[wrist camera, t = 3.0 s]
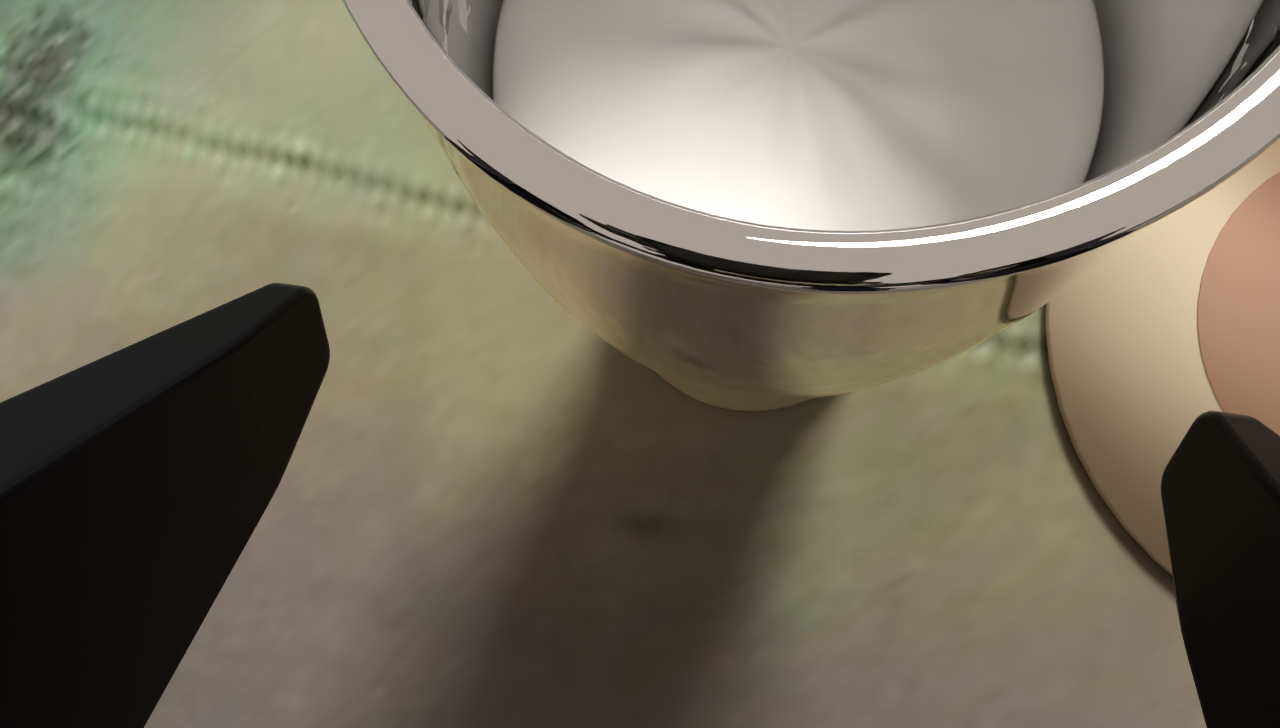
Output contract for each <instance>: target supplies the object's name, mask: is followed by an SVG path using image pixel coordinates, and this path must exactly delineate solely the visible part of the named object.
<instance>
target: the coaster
mask: <svg viewBox="0 0 1280 728" xmlns="http://www.w3.org/2000/svg"><path fill="white" fill-rule="evenodd" d="M1045 330H1046V340H1047V350H1048V361H1049V369H1050V373H1051V378H1052V382H1053V386H1054V390H1055V394H1056V399H1057V403H1058V407H1059V411H1060V413H1061V416H1062V418H1063V421H1064V424H1065V426H1066V429H1067V432H1068V434H1069V437H1070V439H1071V442H1072V445H1073V447H1074V450H1075V452H1076V454H1077V455H1078V457H1079V459H1080V461H1081V463H1082V465H1083V467H1084V468H1085V470H1086V472H1087V474H1088V476H1089V478H1090V480H1091V481H1092V483H1093V485H1094V487H1095V489H1096V490H1097V492H1098V493H1099V494H1100V496H1101V497H1102V499H1103V500H1104V501H1105V503H1106V504H1107V506H1108V507H1109V508H1110V510H1111V511H1112V513H1113V514H1114V516H1115V517H1116V518H1117V520H1118V521H1119V523H1120V524H1121V525H1122V526H1123V528H1124V529H1125V530H1126V531H1127V532H1128V533H1129V534H1130V535H1131V536H1132V537H1133V538H1134V540H1135V541H1136V542H1137V543H1138V544H1139V545H1140V546H1141V547H1142V548H1143V549H1144V550H1145V552H1146V553H1147V554H1148V555H1149V556H1150V557H1151V558H1152V559H1153V560H1154V561H1155V562H1156V563H1158V564H1159V565H1160V566H1161V567H1162V568H1163V569H1165V570H1166V571H1167V572H1168V573H1169V574H1170V575H1172V569H1171V561H1170V554H1169V547H1168V540H1167V533H1166V526H1165V519H1164V512H1163V505H1162V498H1161V479H1162V475H1163V472H1164V469H1165V467H1166V465H1167V464H1168V462H1169V460H1170V459H1171V457H1172V456H1173V454H1174V452H1175V451H1176V449H1177V448H1178V446H1179V444H1180V443H1181V441H1182V439H1183V438H1184V436H1185V435H1186V433H1187V431H1188V430H1189V428H1190V427H1191V425H1192V423H1193V422H1194V421H1195V419H1196V418H1197V417H1198V416H1199V415H1201V414H1202V413H1204V412H1207V411H1220V412H1227V413H1235V414H1242V415H1248V416H1251V417H1254V418H1256V419H1257V420H1259V421H1260V422H1262V423H1263V424H1264V425H1266V426H1267V427H1268V428H1270V429H1271V430H1273V431H1274V432H1275V433H1277V434H1278V435H1279V436H1280V139H1279V140H1278V141H1277V142H1276V143H1274V144H1273V145H1272V146H1271V147H1270V148H1268V149H1267V150H1266V151H1265V152H1264V153H1262V154H1261V155H1260V156H1259V157H1257V158H1256V159H1255V160H1253V161H1252V162H1251V163H1249V164H1248V165H1247V166H1245V167H1244V168H1243V169H1241V170H1240V171H1239V172H1237V173H1236V174H1235V175H1233V176H1232V177H1230V178H1229V179H1227V180H1226V181H1224V182H1223V183H1221V184H1220V185H1218V186H1217V187H1215V188H1214V189H1212V190H1211V191H1209V192H1208V193H1206V194H1204V195H1203V196H1201V197H1199V198H1198V199H1196V200H1194V201H1193V202H1191V203H1189V204H1187V205H1186V206H1184V207H1182V208H1181V209H1179V210H1177V211H1175V212H1173V213H1171V214H1170V215H1168V216H1166V217H1164V218H1162V219H1160V220H1158V221H1157V222H1155V223H1154V224H1153V225H1151V226H1150V227H1149V228H1147V229H1146V230H1145V231H1144V232H1142V233H1141V234H1140V235H1139V236H1137V237H1136V238H1135V239H1133V240H1132V241H1131V242H1130V243H1128V244H1127V245H1126V246H1125V247H1123V248H1122V249H1121V250H1119V251H1118V252H1117V253H1116V254H1114V255H1113V256H1112V257H1110V258H1109V259H1108V260H1106V261H1105V262H1104V263H1102V264H1101V265H1100V266H1098V267H1097V268H1096V269H1094V270H1093V271H1091V272H1090V273H1089V274H1087V275H1086V276H1084V277H1083V278H1082V279H1080V280H1079V281H1077V282H1076V283H1075V284H1073V285H1072V286H1070V287H1069V288H1068V289H1066V290H1065V291H1063V292H1062V293H1061V294H1059V295H1058V296H1056V297H1055V298H1054V299H1052V300H1051V301H1050V302H1048V303H1047V304H1046V318H1045Z"/></svg>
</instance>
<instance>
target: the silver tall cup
mask: <svg viewBox="0 0 1280 728" xmlns="http://www.w3.org/2000/svg"><path fill="white" fill-rule="evenodd" d="M342 1H343V3H344V5H345V6H346V8H347V10H348V12H349V14H350V16H351V18H352V20H353V22H354V23H355V25H356V27H357V28H358V30H359V32H360V34H361V35H362V37H363V39H364V41H365V42H366V44H367V45H368V47H369V48H370V50H371V51H372V53H373V54H374V56H375V57H376V59H377V60H378V62H379V63H380V65H381V66H382V67H383V69H384V70H385V71H386V73H387V74H388V75H389V77H390V78H391V79H392V81H393V82H394V83H395V85H396V86H397V87H398V88H399V89H400V91H401V92H402V93H403V94H404V96H405V97H406V98H407V99H408V100H409V102H410V103H411V104H412V105H413V106H414V107H415V108H416V109H417V111H418V112H419V113H420V114H421V116H422V118H423V120H424V121H425V123H426V125H427V126H428V128H429V130H430V131H431V133H432V135H433V137H434V138H435V140H436V142H437V143H438V145H439V147H440V148H441V150H442V152H443V153H444V155H445V157H446V158H447V160H448V161H449V163H450V164H451V166H452V168H453V169H454V171H455V172H456V174H457V175H458V177H459V178H460V180H461V181H462V183H463V184H464V186H465V188H466V189H467V191H468V192H469V194H470V195H471V197H472V198H473V200H474V201H475V203H476V204H477V206H478V207H479V209H480V210H481V212H482V213H483V215H484V216H485V218H486V219H487V221H488V222H489V223H490V225H491V226H492V227H493V229H494V230H495V231H496V233H497V234H498V235H499V236H500V238H501V239H502V240H503V241H504V243H505V244H506V245H507V246H508V248H509V249H510V250H511V251H512V252H513V254H514V255H515V256H516V257H517V258H518V260H519V261H520V262H521V263H522V265H523V266H524V267H525V268H526V269H527V271H528V272H529V273H530V274H531V275H532V277H533V278H534V279H535V280H536V281H537V282H538V283H539V285H540V286H541V287H542V288H543V289H544V290H545V291H546V292H547V293H548V294H549V295H550V296H551V297H552V298H553V299H554V300H555V301H556V302H557V303H558V304H559V305H560V306H562V307H563V308H564V309H565V310H566V311H567V312H568V313H569V314H571V315H572V316H573V317H574V318H576V319H577V320H578V321H579V322H581V323H582V324H583V325H585V326H586V327H587V328H589V329H590V330H591V331H592V332H594V333H595V334H596V335H598V336H599V337H600V338H602V339H603V340H604V341H606V342H607V343H609V344H610V345H611V346H613V347H614V348H616V349H617V350H619V351H620V352H622V353H623V354H625V355H626V356H628V357H630V358H632V359H633V360H635V361H637V362H639V363H640V364H642V365H644V366H646V367H648V368H650V369H652V370H654V371H655V372H656V373H657V374H658V375H660V376H661V377H662V378H663V379H664V380H665V381H667V382H668V383H669V384H671V385H672V386H673V387H675V388H676V389H678V390H679V391H681V392H683V393H684V394H686V395H688V396H690V397H692V398H694V399H696V400H699V401H701V402H704V403H707V404H710V405H713V406H716V407H720V408H725V409H730V410H738V411H766V410H774V409H780V408H784V407H788V406H792V405H795V404H798V403H801V402H803V401H806V400H808V399H810V398H818V397H826V396H833V395H839V394H844V393H849V392H854V391H858V390H862V389H866V388H870V387H873V386H876V385H880V384H883V383H887V382H890V381H893V380H897V379H900V378H903V377H906V376H910V375H912V374H915V373H918V372H921V371H923V370H926V369H928V368H931V367H933V366H936V365H938V364H940V363H943V362H945V361H947V360H949V359H951V358H953V357H956V356H958V355H960V354H961V353H963V352H965V351H967V350H969V349H971V348H973V347H974V346H976V345H978V344H980V343H982V342H983V341H985V340H987V339H989V338H990V337H992V336H994V335H996V334H997V333H999V332H1001V331H1003V330H1004V329H1006V328H1008V327H1010V326H1012V325H1013V324H1015V323H1017V322H1018V321H1020V320H1022V319H1023V318H1025V317H1027V316H1029V315H1030V314H1032V313H1033V312H1035V311H1036V310H1038V309H1039V308H1041V307H1042V306H1044V305H1045V304H1047V303H1048V302H1050V301H1051V300H1052V299H1054V298H1055V297H1056V296H1058V295H1059V294H1061V293H1062V292H1063V291H1065V290H1066V289H1068V288H1069V287H1070V286H1072V285H1073V284H1075V283H1076V282H1077V281H1079V280H1080V279H1082V278H1083V277H1084V276H1086V275H1087V274H1089V273H1090V272H1091V271H1093V270H1094V269H1096V268H1097V267H1098V266H1100V265H1101V264H1102V263H1104V262H1105V261H1106V260H1108V259H1109V258H1110V257H1112V256H1113V255H1114V254H1116V253H1117V252H1118V251H1119V250H1121V249H1122V248H1123V247H1125V246H1126V245H1127V244H1128V243H1130V242H1131V241H1132V240H1133V239H1135V238H1136V237H1137V236H1139V235H1140V234H1141V233H1142V232H1144V231H1145V230H1146V229H1147V228H1149V227H1150V226H1151V225H1153V224H1154V223H1155V222H1157V221H1158V220H1160V219H1162V218H1164V217H1166V216H1168V215H1170V214H1171V213H1173V212H1175V211H1177V210H1179V209H1181V208H1182V207H1184V206H1186V205H1187V204H1189V203H1191V202H1193V201H1194V200H1196V199H1198V198H1199V197H1201V196H1203V195H1204V194H1206V193H1208V192H1209V191H1211V190H1212V189H1214V188H1215V187H1217V186H1218V185H1220V184H1221V183H1223V182H1224V181H1226V180H1227V179H1229V178H1230V177H1232V176H1233V175H1235V174H1236V173H1237V172H1239V171H1240V170H1241V169H1243V168H1244V167H1245V166H1247V165H1248V164H1249V163H1251V162H1252V161H1253V160H1255V159H1256V158H1257V157H1259V156H1260V155H1261V154H1262V153H1264V152H1265V151H1266V150H1267V149H1268V148H1270V147H1271V146H1272V145H1273V144H1274V143H1276V142H1277V141H1278V140H1279V139H1280V0H342Z"/></svg>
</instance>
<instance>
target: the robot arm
mask: <svg viewBox="0 0 1280 728" xmlns="http://www.w3.org/2000/svg"><path fill="white" fill-rule="evenodd" d="M329 358H330V349H329V343H328V339H327V335H326V331H325V327H324V322H323V318H322V314H321V310H320V306H319V301H318V299H317V296H316V294H315V293H314V291H313V290H311V289H310V288H308V287H305V286H298V285H291V284H284V283H272V284H269V285H267V286H264V287H262V288H260V289H257V290H255V291H253V292H251V293H248V294H246V295H244V296H242V297H239V298H237V299H235V300H232V301H230V302H228V303H226V304H223V305H221V306H219V307H217V308H214V309H212V310H210V311H208V312H205V313H203V314H201V315H198V316H196V317H194V318H192V319H189V320H187V321H185V322H183V323H180V324H178V325H176V326H173V327H171V328H169V329H167V330H164V331H162V332H160V333H158V334H155V335H153V336H151V337H148V338H146V339H144V340H142V341H139V342H137V343H135V344H133V345H130V346H128V347H126V348H124V349H121V350H119V351H117V352H114V353H112V354H110V355H108V356H105V357H103V358H101V359H99V360H96V361H94V362H92V363H89V364H87V365H85V366H83V367H80V368H78V369H76V370H74V371H71V372H69V373H67V374H65V375H62V376H60V377H58V378H55V379H53V380H51V381H49V382H46V383H44V384H42V385H40V386H37V387H35V388H33V389H30V390H28V391H26V392H24V393H21V394H19V395H17V396H15V397H12V398H10V399H8V400H5V401H3V402H1V403H0V728H144V726H145V724H146V723H147V721H148V719H149V717H150V715H151V714H152V712H153V710H154V708H155V706H156V705H157V703H158V701H159V699H160V697H161V696H162V694H163V692H164V690H165V688H166V687H167V685H168V683H169V681H170V680H171V678H172V676H173V674H174V672H175V671H176V669H177V667H178V665H179V663H180V662H181V660H182V658H183V656H184V654H185V653H186V651H187V649H188V647H189V646H190V644H191V642H192V640H193V638H194V637H195V635H196V633H197V631H198V629H199V628H200V626H201V624H202V622H203V620H204V619H205V617H206V615H207V613H208V612H209V610H210V608H211V606H212V604H213V603H214V601H215V599H216V597H217V595H218V594H219V592H220V590H221V588H222V586H223V585H224V583H225V581H226V579H227V577H228V576H229V574H230V572H231V570H232V569H233V567H234V565H235V563H236V561H237V560H238V558H239V556H240V554H241V552H242V551H243V549H244V547H245V545H246V543H247V542H248V540H249V538H250V536H251V535H252V533H253V531H254V529H255V527H256V526H257V524H258V522H259V520H260V518H261V517H262V515H263V513H264V511H265V509H266V508H267V506H268V504H269V502H270V500H271V498H272V497H273V495H274V493H275V491H276V489H277V487H278V485H279V483H280V481H281V479H282V476H283V474H284V472H285V470H286V468H287V465H288V463H289V461H290V458H291V456H292V453H293V451H294V449H295V446H296V444H297V441H298V439H299V436H300V434H301V432H302V429H303V427H304V424H305V422H306V420H307V417H308V415H309V412H310V410H311V408H312V405H313V403H314V400H315V398H316V395H317V393H318V391H319V388H320V386H321V383H322V381H323V379H324V376H325V374H326V371H327V368H328V364H329ZM1161 498H1162V505H1163V512H1164V519H1165V526H1166V533H1167V540H1168V547H1169V554H1170V561H1171V569H1172V576H1173V583H1174V590H1175V597H1176V604H1177V610H1178V615H1179V621H1180V627H1181V632H1182V636H1183V640H1184V644H1185V648H1186V652H1187V656H1188V660H1189V664H1190V667H1191V671H1192V675H1193V678H1194V682H1195V686H1196V689H1197V693H1198V697H1199V700H1200V704H1201V708H1202V712H1203V715H1204V719H1205V723H1206V726H1207V728H1280V436H1279V435H1278V434H1277V433H1275V432H1274V431H1273V430H1271V429H1270V428H1268V427H1267V426H1266V425H1264V424H1263V423H1262V422H1260V421H1259V420H1257V419H1256V418H1254V417H1251V416H1248V415H1242V414H1235V413H1227V412H1220V411H1207V412H1204V413H1202V414H1201V415H1199V416H1198V417H1197V418H1196V419H1195V421H1194V422H1193V423H1192V425H1191V427H1190V428H1189V430H1188V431H1187V433H1186V435H1185V436H1184V438H1183V439H1182V441H1181V443H1180V444H1179V446H1178V448H1177V449H1176V451H1175V452H1174V454H1173V456H1172V457H1171V459H1170V460H1169V462H1168V464H1167V465H1166V467H1165V469H1164V472H1163V475H1162V479H1161Z"/></svg>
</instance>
